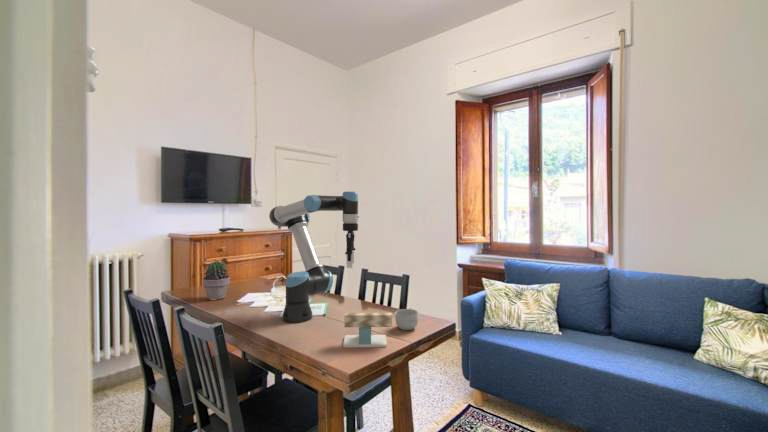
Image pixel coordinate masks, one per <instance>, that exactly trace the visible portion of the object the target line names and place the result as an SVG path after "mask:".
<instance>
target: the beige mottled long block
mask: <svg viewBox="0 0 768 432" xmlns="http://www.w3.org/2000/svg"><path fill="white" fill-rule="evenodd" d="M359 327H371V328H392V327H393V313H392V312H345V313H344V328H359Z"/></svg>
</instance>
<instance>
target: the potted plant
mask: <svg viewBox="0 0 768 432" xmlns="http://www.w3.org/2000/svg"><path fill="white" fill-rule="evenodd" d="M228 264H229V260H228V258H227V257H223V258H221V260H218V261H217V260H215V261H212V262H210V263H209V264H208V265H207V268H206V270H205V271H204V272H203V274H201V275H205V276H204V277H202V278H201V280H202V286H204V290H205V293H206V297H207V300H208V299H221V298H224V297H225V298H226V295H227V291H228V287H229V284H230V280H231V277H230V276H229V275H227V274H228V272H229V271H228V270H227V268H228V267H229V266H227V265H228ZM225 298H224V299H225Z"/></svg>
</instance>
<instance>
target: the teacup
mask: <svg viewBox="0 0 768 432" xmlns="http://www.w3.org/2000/svg"><path fill="white" fill-rule="evenodd" d="M418 313H419V312H418V310H416V309H413V308H402V309H398V310H396V311H395V312H394V316H395V317H394V318H395V324H396V326H397V327H398V328H399V329H400V330H402V331H411V330H414V329H415V328H416V327H417V326H418V321H419V319H418V318H419V317H418V316H419V315H418Z"/></svg>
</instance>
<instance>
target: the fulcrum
mask: <svg viewBox="0 0 768 432" xmlns="http://www.w3.org/2000/svg"><path fill="white" fill-rule="evenodd" d="M343 339H344V340H343V343H342V348H388V346H387V345H388V343H387V335H386V334H372V327H358V334H346V335H344V338H343Z"/></svg>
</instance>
